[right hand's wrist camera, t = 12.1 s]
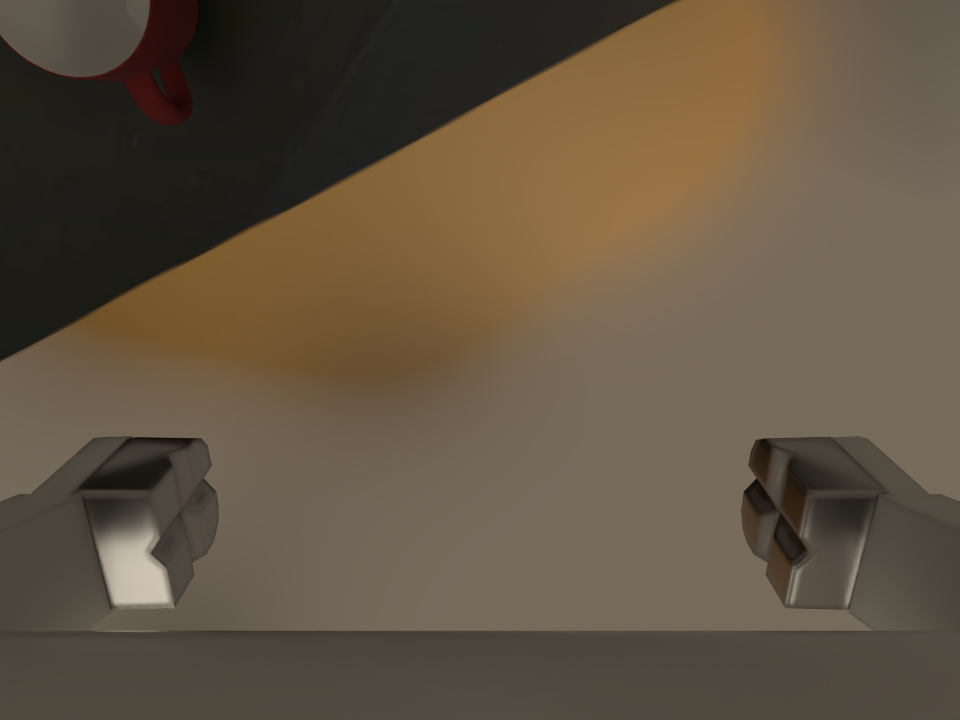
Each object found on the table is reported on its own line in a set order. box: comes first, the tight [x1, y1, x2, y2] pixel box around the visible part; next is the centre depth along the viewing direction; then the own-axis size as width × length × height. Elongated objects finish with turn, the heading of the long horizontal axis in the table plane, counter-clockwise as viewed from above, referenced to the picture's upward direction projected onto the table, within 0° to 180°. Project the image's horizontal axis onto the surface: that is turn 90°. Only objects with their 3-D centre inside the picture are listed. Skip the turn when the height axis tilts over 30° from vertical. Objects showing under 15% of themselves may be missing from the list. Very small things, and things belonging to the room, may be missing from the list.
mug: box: [0, 0, 198, 126], centre depth 35 cm, size 11×8×10 cm
